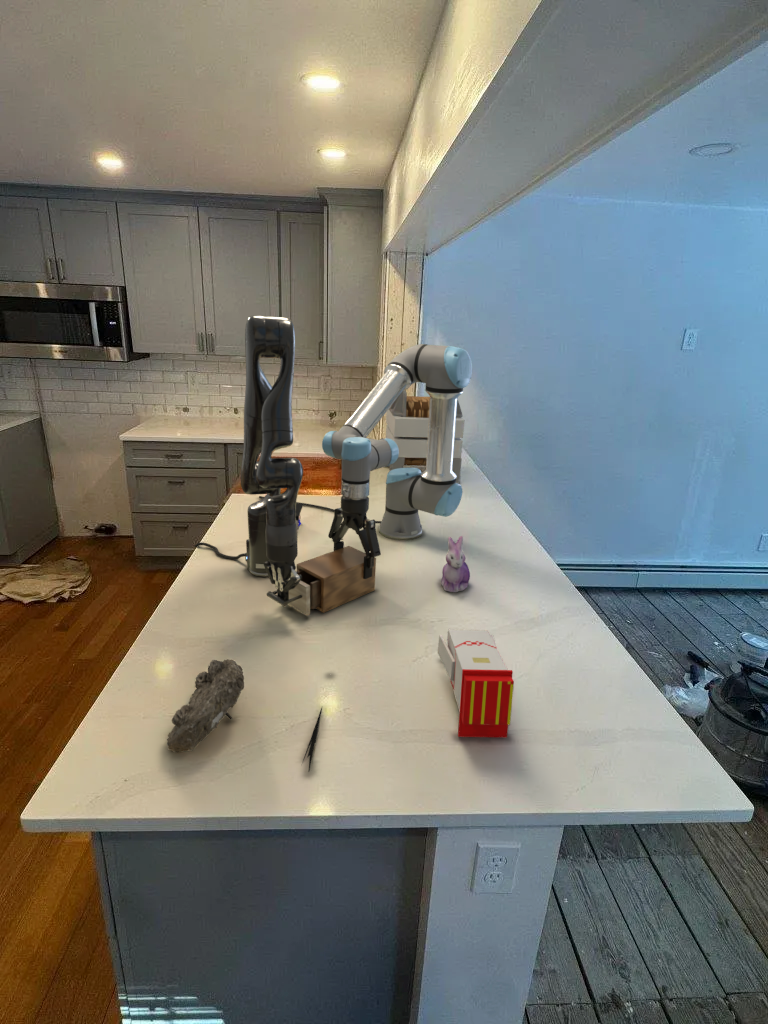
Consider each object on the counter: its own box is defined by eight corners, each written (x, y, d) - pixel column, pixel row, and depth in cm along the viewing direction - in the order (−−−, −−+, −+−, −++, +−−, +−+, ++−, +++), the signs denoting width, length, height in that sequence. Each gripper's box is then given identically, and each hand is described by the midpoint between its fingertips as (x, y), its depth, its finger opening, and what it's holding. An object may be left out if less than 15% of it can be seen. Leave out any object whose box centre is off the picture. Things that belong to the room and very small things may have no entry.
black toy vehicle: (298, 540, 193) (303, 520, 207) (298, 520, 190) (303, 501, 204) (279, 540, 193) (285, 519, 207) (278, 520, 190) (284, 501, 203)
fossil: (192, 660, 117) (244, 628, 112) (224, 691, 120) (276, 661, 115) (142, 746, 98) (202, 712, 93) (182, 779, 101) (242, 748, 96)
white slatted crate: (382, 463, 289) (386, 382, 275) (445, 464, 293) (451, 384, 279) (390, 482, 257) (394, 392, 243) (460, 483, 261) (468, 394, 247)
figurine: (451, 596, 157) (455, 546, 152) (431, 580, 166) (435, 533, 161) (478, 590, 162) (484, 541, 157) (458, 575, 170) (462, 529, 165)
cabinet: (323, 613, 146) (323, 578, 143) (296, 597, 154) (296, 564, 150) (374, 590, 159) (376, 557, 156) (348, 576, 166) (348, 545, 163)
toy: (488, 613, 130) (523, 677, 101) (484, 667, 133) (517, 744, 104) (435, 612, 130) (455, 676, 101) (432, 666, 133) (451, 743, 103)
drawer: (287, 624, 139) (286, 594, 136) (263, 608, 145) (262, 580, 142) (357, 593, 155) (357, 566, 152) (333, 581, 161) (333, 555, 159)
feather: (331, 679, 122) (336, 673, 122) (307, 777, 96) (313, 769, 95) (324, 675, 122) (329, 669, 121) (298, 772, 95) (304, 764, 95)
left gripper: (252, 534, 138) (255, 597, 144) (286, 551, 130) (287, 617, 136) (277, 527, 143) (279, 588, 149) (311, 542, 135) (311, 606, 141)
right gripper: (315, 488, 156) (315, 560, 164) (376, 510, 141) (373, 589, 149) (336, 483, 161) (335, 553, 169) (396, 504, 146) (392, 580, 154)
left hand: (283, 601), depth 143 cm, fingers closed
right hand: (352, 570), depth 159 cm, fingers closed on cabinet, 11 cm apart
